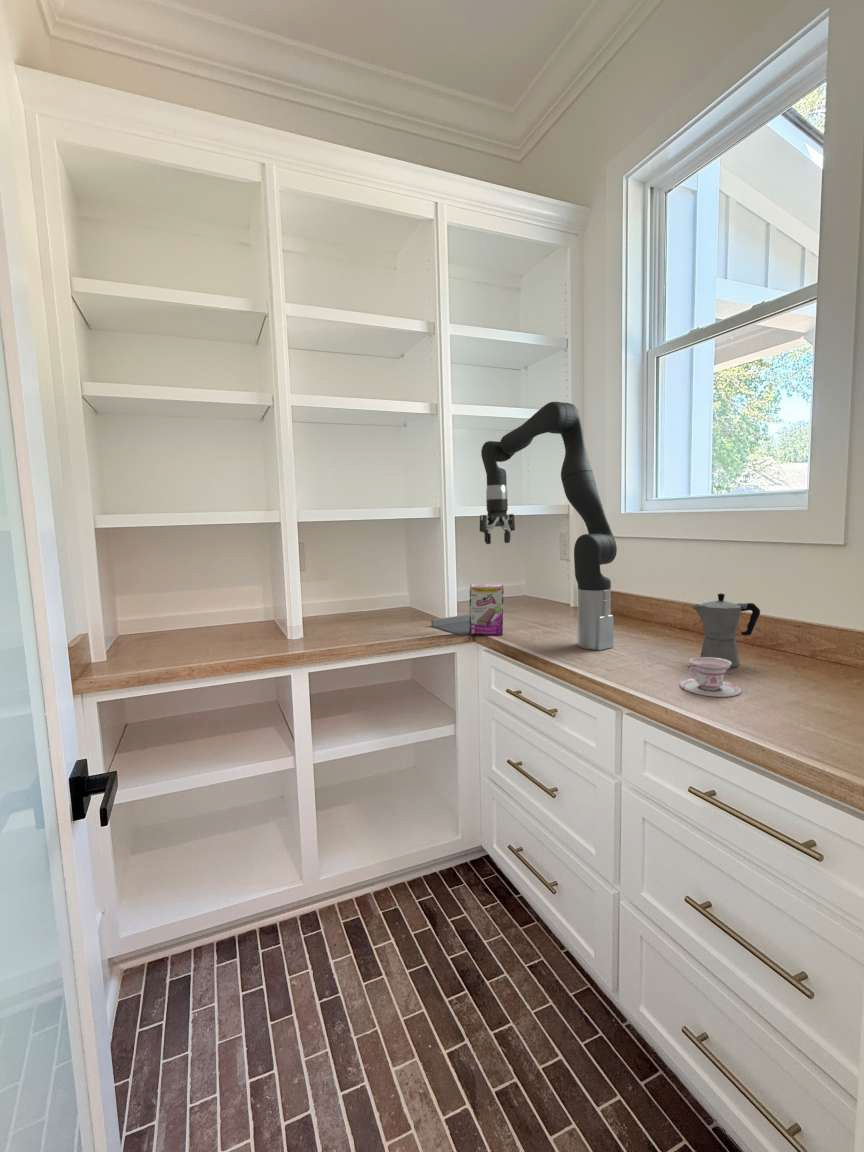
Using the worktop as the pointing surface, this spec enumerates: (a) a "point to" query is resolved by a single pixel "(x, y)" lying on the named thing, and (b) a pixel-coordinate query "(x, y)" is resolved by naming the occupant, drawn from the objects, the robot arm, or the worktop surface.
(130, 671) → the worktop surface
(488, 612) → the candy bar box
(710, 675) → the teacup
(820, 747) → the worktop surface
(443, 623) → the mat
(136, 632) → the worktop surface
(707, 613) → the coffeepot
